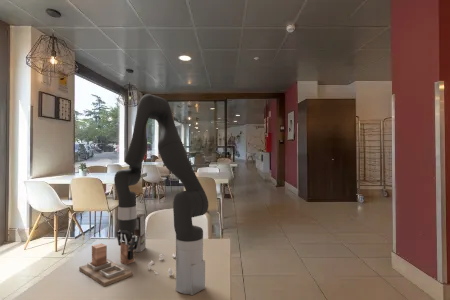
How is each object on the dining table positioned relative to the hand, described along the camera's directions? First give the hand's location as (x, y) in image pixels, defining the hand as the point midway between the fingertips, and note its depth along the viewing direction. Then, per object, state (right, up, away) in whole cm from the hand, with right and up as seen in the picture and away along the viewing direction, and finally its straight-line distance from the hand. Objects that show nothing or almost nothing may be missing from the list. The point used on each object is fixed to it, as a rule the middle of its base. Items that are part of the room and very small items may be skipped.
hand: (127, 257), depth 120 cm
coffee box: (-2, -2, +15) cm, 15 cm away
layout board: (-5, -2, -10) cm, 12 cm away
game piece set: (+19, -2, -4) cm, 20 cm away
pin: (0, -2, 0) cm, 2 cm away
